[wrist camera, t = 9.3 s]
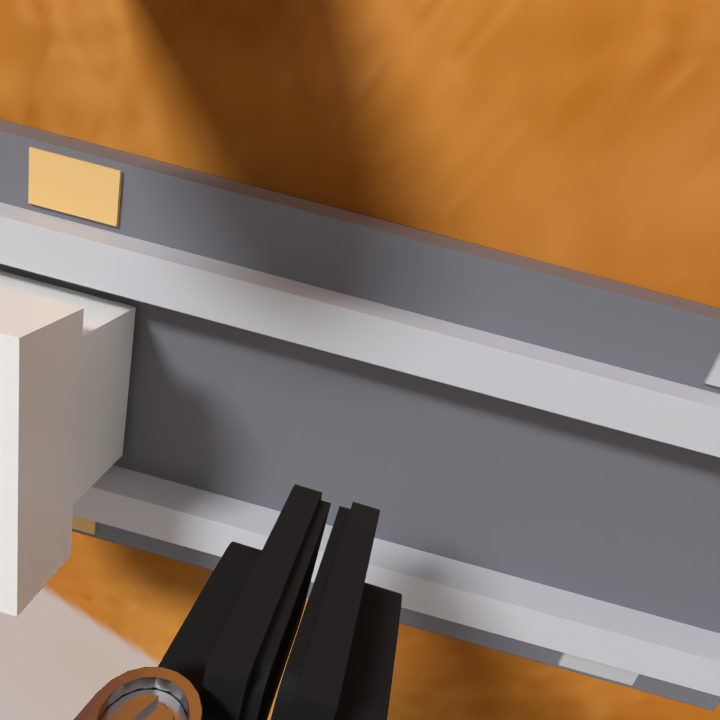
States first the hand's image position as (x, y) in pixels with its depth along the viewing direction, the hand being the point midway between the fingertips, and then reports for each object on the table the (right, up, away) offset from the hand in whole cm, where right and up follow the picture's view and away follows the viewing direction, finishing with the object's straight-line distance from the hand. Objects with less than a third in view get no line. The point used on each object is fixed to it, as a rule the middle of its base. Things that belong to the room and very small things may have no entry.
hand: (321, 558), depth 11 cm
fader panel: (+1, +2, +7) cm, 8 cm away
